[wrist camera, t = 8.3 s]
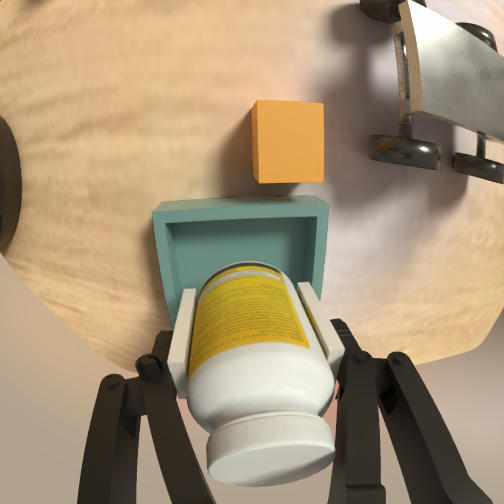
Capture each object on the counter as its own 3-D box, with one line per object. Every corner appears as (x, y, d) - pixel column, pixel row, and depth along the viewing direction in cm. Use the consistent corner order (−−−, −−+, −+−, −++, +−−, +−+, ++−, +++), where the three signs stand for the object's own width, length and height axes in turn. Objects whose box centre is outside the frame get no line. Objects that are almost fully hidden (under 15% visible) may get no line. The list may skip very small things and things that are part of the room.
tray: (180, 328, 24) (176, 350, 21) (161, 202, 19) (151, 212, 17) (305, 320, 25) (314, 340, 22) (315, 195, 20) (329, 204, 18)
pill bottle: (180, 279, 17) (140, 450, 6) (276, 240, 16) (350, 400, 6) (224, 349, 19) (229, 498, 9) (306, 319, 19) (365, 463, 8)
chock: (252, 175, 19) (258, 183, 16) (250, 108, 18) (256, 100, 14) (305, 174, 20) (323, 182, 16) (305, 109, 18) (323, 103, 14)
